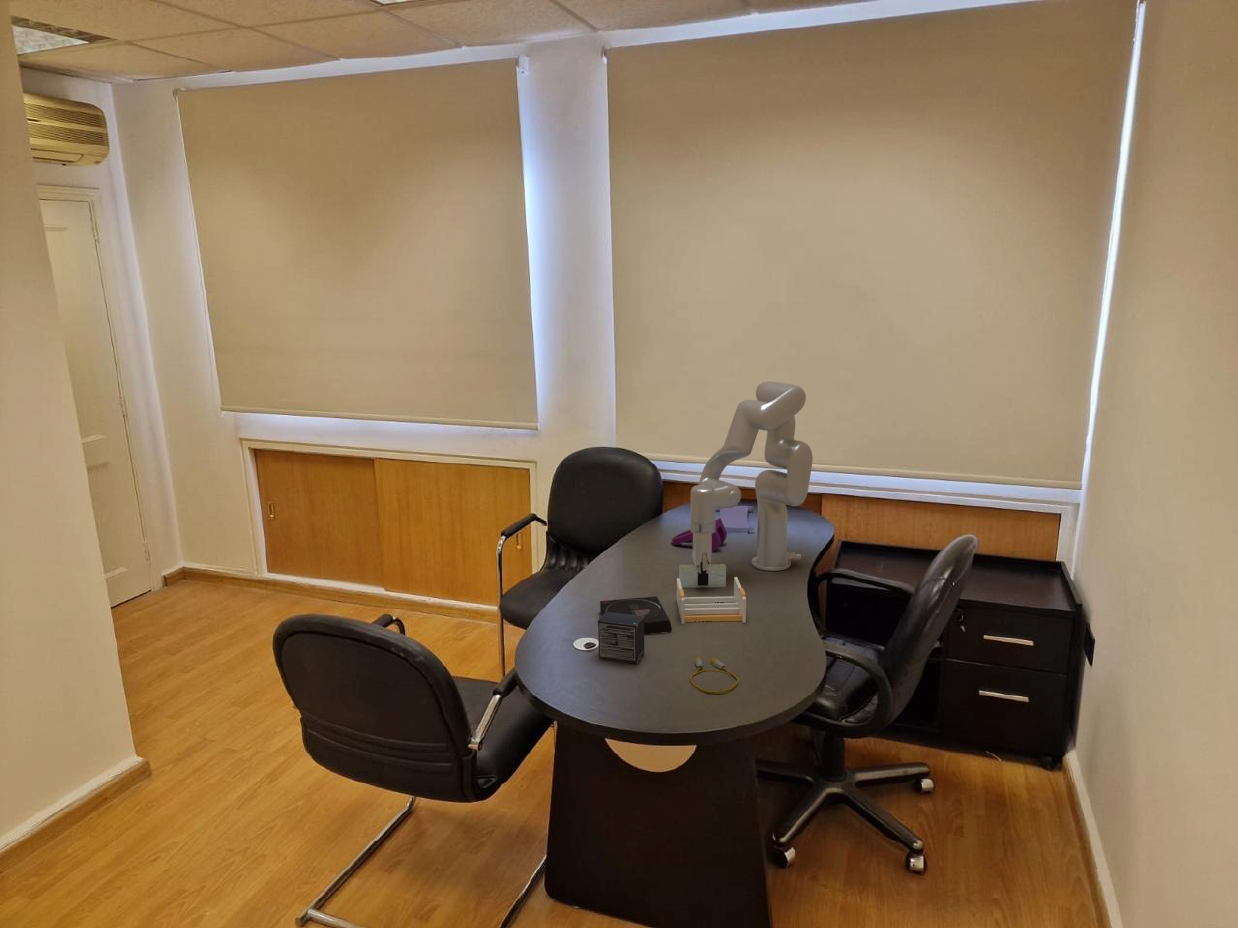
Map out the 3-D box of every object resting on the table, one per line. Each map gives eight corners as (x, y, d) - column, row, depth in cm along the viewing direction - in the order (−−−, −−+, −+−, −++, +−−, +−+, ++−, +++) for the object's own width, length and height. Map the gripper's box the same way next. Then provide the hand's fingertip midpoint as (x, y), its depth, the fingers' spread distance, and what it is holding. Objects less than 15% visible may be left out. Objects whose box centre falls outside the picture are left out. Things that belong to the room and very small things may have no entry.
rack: (736, 599, 237) (737, 575, 235) (746, 622, 221) (746, 596, 219) (676, 600, 236) (676, 576, 235) (681, 623, 221) (681, 598, 219)
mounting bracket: (677, 563, 283) (722, 548, 274) (667, 541, 283) (712, 526, 274) (686, 555, 291) (730, 540, 283) (677, 533, 291) (720, 518, 282)
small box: (645, 653, 205) (645, 614, 202) (638, 664, 199) (637, 625, 196) (606, 647, 208) (605, 609, 206) (597, 658, 202) (596, 620, 200)
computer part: (752, 511, 323) (715, 510, 325) (753, 501, 322) (715, 500, 324) (753, 535, 294) (712, 534, 297) (754, 524, 293) (712, 523, 296)
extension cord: (745, 667, 197) (745, 659, 197) (733, 699, 183) (733, 691, 182) (696, 660, 201) (696, 653, 201) (681, 691, 187) (681, 683, 186)
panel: (724, 583, 249) (724, 563, 247) (725, 586, 246) (726, 566, 245) (679, 584, 248) (679, 564, 247) (680, 587, 246) (680, 567, 244)
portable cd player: (672, 633, 216) (672, 619, 215) (609, 639, 214) (609, 625, 213) (659, 609, 232) (658, 596, 231) (600, 614, 229) (600, 600, 228)
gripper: (687, 518, 251) (687, 573, 255) (693, 534, 235) (692, 593, 239) (712, 517, 251) (711, 573, 255) (718, 534, 235) (718, 593, 239)
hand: (702, 582), depth 247 cm, fingers closed on panel, 2 cm apart
